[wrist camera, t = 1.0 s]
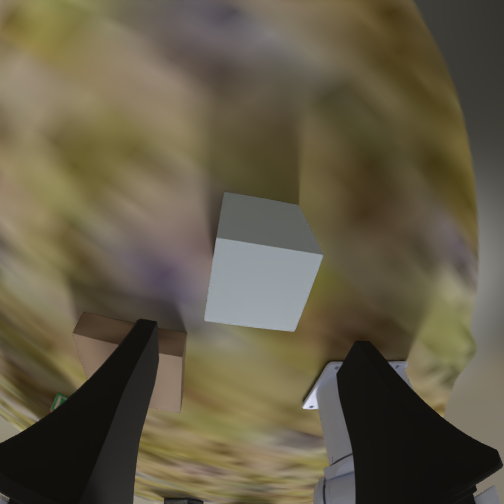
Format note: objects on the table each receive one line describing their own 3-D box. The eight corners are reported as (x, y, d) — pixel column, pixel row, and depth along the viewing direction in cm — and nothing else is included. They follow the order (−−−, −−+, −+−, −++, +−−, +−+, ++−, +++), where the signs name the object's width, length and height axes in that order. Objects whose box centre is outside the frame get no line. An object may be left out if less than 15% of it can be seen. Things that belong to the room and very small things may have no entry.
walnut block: (187, 329, 23) (182, 357, 20) (183, 389, 27) (180, 413, 24) (85, 308, 21) (72, 332, 19) (101, 371, 26) (93, 394, 23)
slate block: (298, 205, 17) (323, 255, 12) (280, 267, 20) (294, 331, 14) (224, 191, 17) (216, 237, 12) (213, 257, 19) (204, 320, 14)
